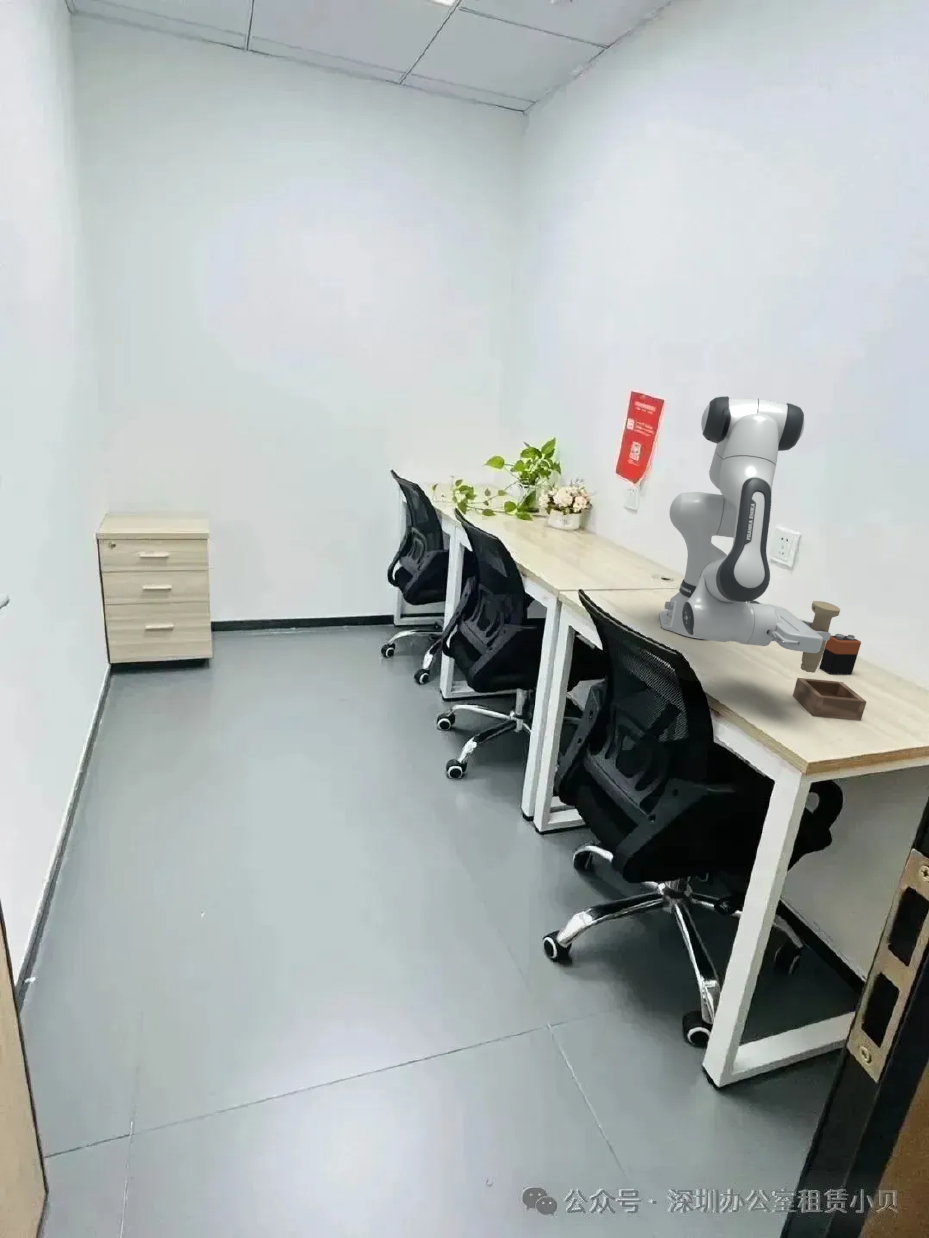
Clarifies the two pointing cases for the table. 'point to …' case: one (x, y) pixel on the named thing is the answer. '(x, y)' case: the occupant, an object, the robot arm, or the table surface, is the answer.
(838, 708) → the brown square open box
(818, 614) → the handle
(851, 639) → the battery
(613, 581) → the table surface
